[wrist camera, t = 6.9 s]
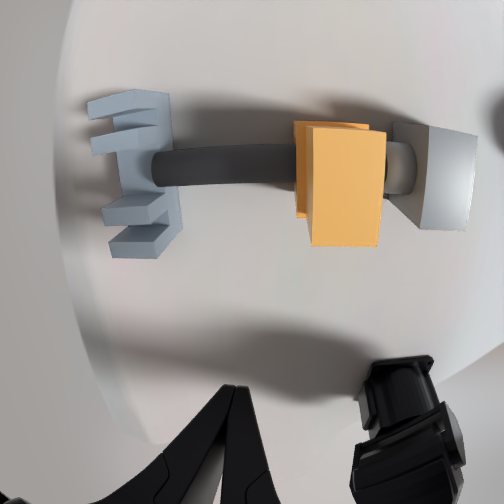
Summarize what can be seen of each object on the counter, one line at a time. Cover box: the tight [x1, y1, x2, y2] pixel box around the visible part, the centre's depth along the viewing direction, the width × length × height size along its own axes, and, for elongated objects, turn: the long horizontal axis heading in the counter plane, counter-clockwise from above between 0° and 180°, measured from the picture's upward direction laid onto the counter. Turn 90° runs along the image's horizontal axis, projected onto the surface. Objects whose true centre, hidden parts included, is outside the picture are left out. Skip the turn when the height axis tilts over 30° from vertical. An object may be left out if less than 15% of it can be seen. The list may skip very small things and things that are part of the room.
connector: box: [383, 122, 478, 231], centre depth 13 cm, size 4×5×5 cm
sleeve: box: [293, 121, 386, 247], centre depth 13 cm, size 3×4×8 cm
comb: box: [87, 89, 183, 259], centre depth 16 cm, size 3×9×4 cm, turn 3°
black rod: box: [151, 144, 388, 187], centre depth 14 cm, size 14×2×2 cm, turn 93°
